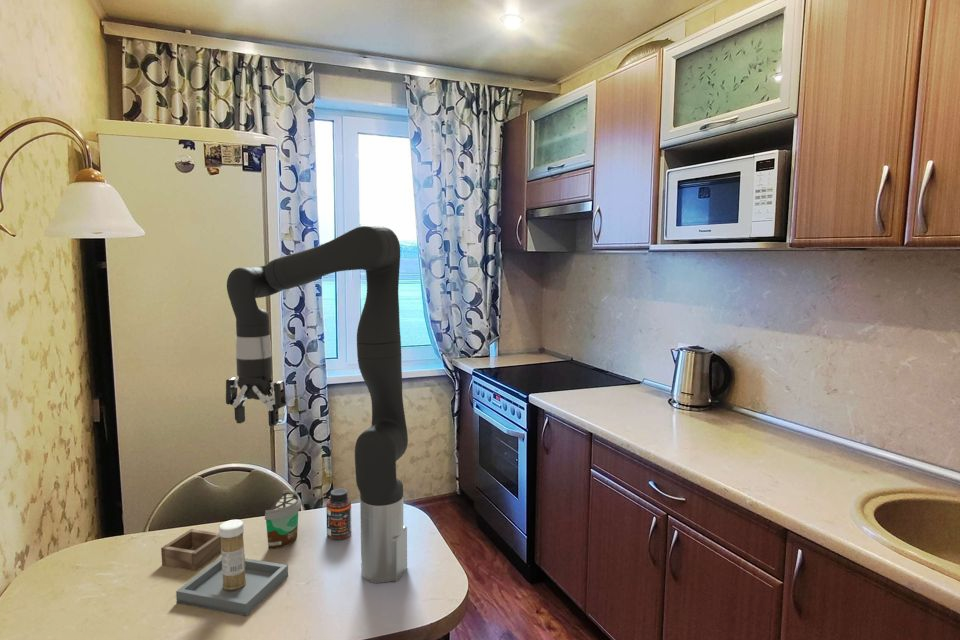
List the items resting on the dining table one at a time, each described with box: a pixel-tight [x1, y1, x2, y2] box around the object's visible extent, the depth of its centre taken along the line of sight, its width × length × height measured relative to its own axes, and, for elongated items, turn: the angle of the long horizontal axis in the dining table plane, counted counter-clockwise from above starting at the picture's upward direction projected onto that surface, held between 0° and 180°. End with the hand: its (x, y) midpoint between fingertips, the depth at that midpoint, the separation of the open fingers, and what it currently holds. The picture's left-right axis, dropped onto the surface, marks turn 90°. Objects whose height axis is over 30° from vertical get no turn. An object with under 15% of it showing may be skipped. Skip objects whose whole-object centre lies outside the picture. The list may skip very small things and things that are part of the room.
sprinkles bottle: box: [218, 519, 246, 591], centre depth 116 cm, size 5×5×14 cm
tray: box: [175, 557, 289, 617], centre depth 116 cm, size 16×14×2 cm
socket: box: [160, 528, 221, 572], centre depth 128 cm, size 9×9×4 cm
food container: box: [264, 489, 302, 550], centre depth 136 cm, size 12×6×10 cm, turn 179°
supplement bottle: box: [326, 488, 352, 541], centre depth 138 cm, size 6×6×11 cm
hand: (256, 424), depth 130 cm, fingers open, 8 cm apart
